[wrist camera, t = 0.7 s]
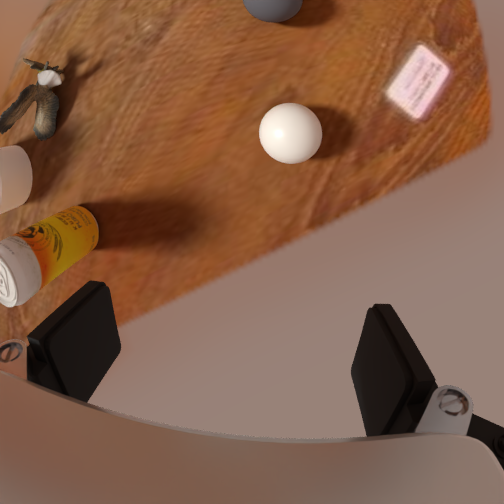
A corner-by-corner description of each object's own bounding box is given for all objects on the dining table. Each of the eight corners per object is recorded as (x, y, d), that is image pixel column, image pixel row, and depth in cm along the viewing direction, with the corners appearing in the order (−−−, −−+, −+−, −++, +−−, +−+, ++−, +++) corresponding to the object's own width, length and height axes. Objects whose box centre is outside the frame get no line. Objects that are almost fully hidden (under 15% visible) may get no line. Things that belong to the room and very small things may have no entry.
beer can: (101, 206, 31) (11, 255, 17) (103, 254, 33) (26, 318, 20) (64, 202, 31) (-24, 243, 17) (67, 246, 34) (-10, 301, 20)
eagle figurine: (30, 64, 23) (3, 132, 25) (17, 51, 17) (-15, 134, 19) (79, 77, 28) (52, 145, 30) (76, 66, 22) (43, 149, 24)
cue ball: (275, 97, 26) (274, 88, 21) (326, 121, 26) (338, 118, 21) (251, 147, 28) (245, 148, 23) (303, 170, 28) (308, 177, 23)
